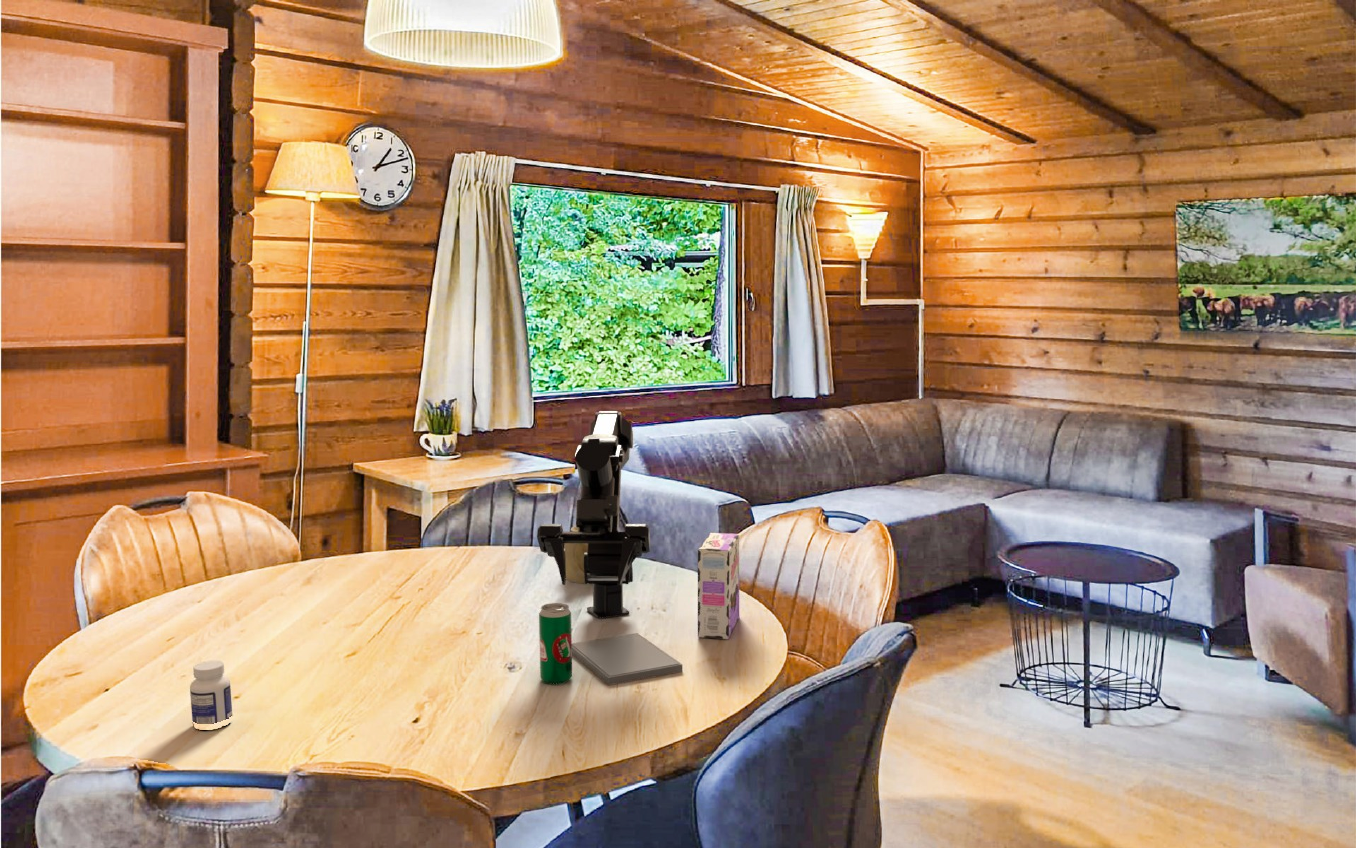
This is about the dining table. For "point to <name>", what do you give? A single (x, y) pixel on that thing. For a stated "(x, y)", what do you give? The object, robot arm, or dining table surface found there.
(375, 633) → the dining table surface
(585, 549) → the sugar bowl
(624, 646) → the slate board
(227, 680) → the pill bottle
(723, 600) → the candy box
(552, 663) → the soda can
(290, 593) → the dining table surface
